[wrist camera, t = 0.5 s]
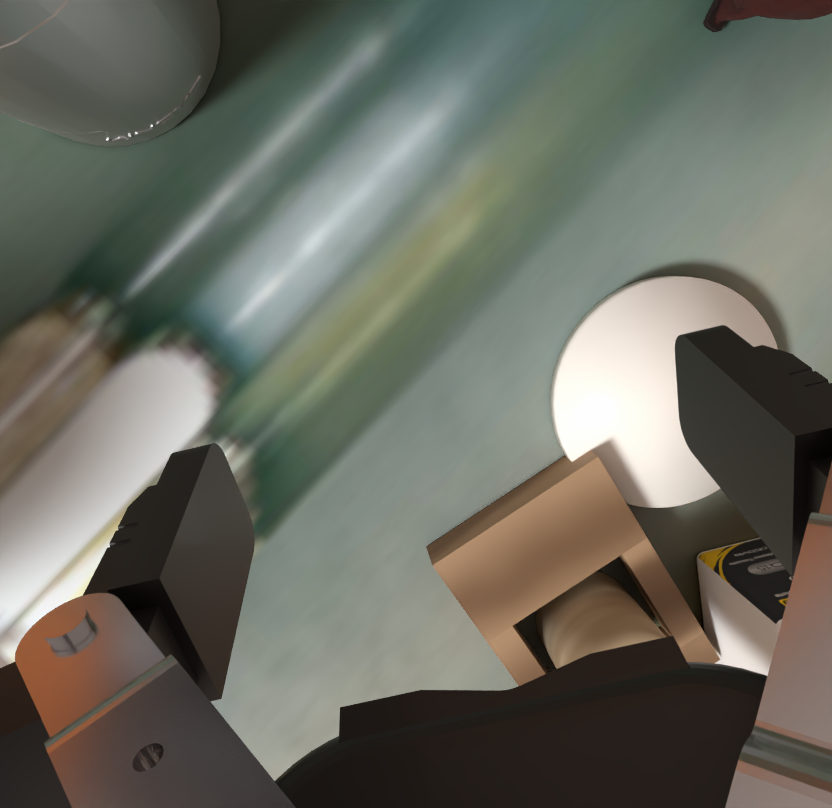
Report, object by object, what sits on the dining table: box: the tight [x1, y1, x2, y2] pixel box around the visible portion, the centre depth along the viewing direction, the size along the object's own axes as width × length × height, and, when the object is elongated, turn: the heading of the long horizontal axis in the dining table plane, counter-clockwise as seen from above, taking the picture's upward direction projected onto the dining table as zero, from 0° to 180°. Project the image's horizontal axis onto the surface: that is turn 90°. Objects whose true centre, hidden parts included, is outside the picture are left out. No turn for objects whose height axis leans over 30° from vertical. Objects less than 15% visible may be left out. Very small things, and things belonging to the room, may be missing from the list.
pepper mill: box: [536, 571, 666, 669], centre depth 29 cm, size 5×5×15 cm
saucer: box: [550, 276, 778, 508], centre depth 33 cm, size 11×11×1 cm
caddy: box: [427, 450, 720, 686], centre depth 35 cm, size 13×9×2 cm
